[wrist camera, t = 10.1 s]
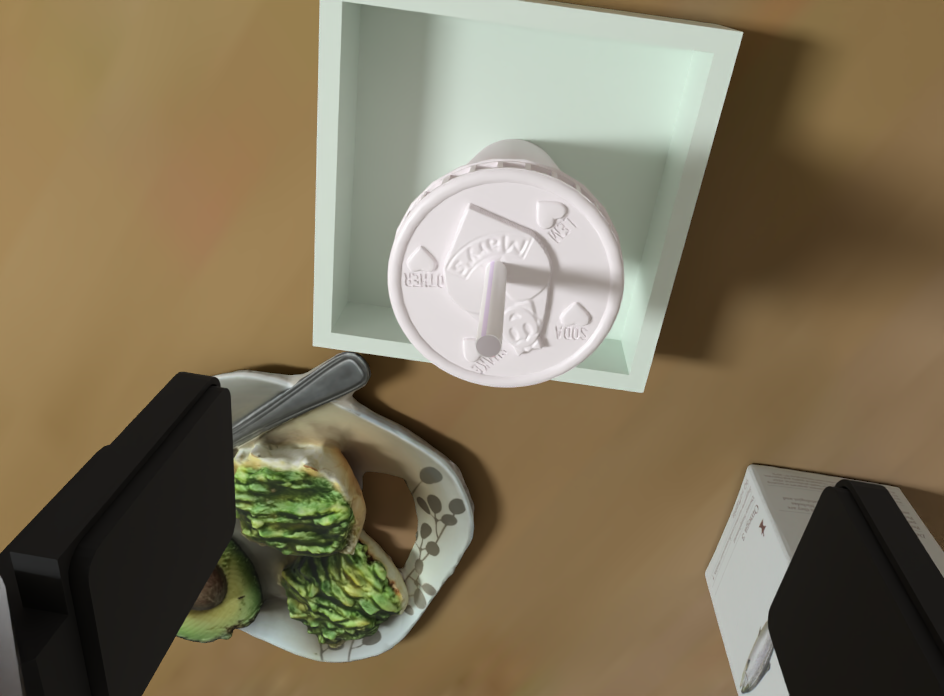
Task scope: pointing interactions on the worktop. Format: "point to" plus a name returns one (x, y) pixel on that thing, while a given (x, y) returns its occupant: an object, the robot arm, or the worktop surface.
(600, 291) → the smoothie
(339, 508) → the avocado toast plate
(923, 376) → the worktop surface
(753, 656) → the supplement box
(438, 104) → the bin
